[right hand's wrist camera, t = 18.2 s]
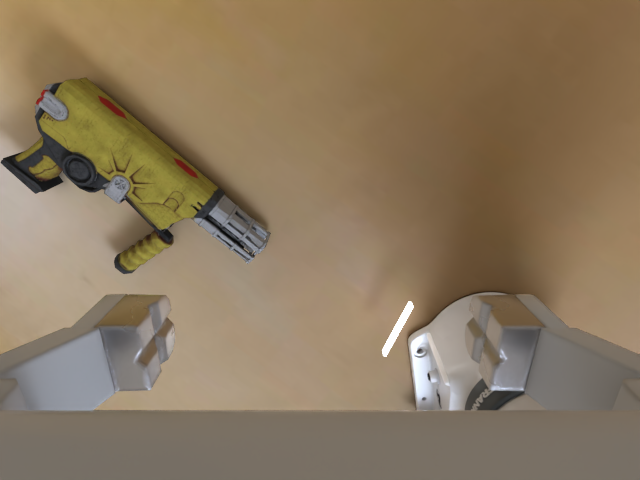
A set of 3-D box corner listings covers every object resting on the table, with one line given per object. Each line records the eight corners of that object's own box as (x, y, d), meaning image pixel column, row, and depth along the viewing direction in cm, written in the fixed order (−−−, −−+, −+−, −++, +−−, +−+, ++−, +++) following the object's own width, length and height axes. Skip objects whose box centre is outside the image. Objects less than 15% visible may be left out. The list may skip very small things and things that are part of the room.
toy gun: (184, 327, 44) (266, 247, 38) (-21, 189, 36) (46, 68, 31) (197, 302, 48) (273, 227, 42) (16, 175, 41) (80, 66, 35)
